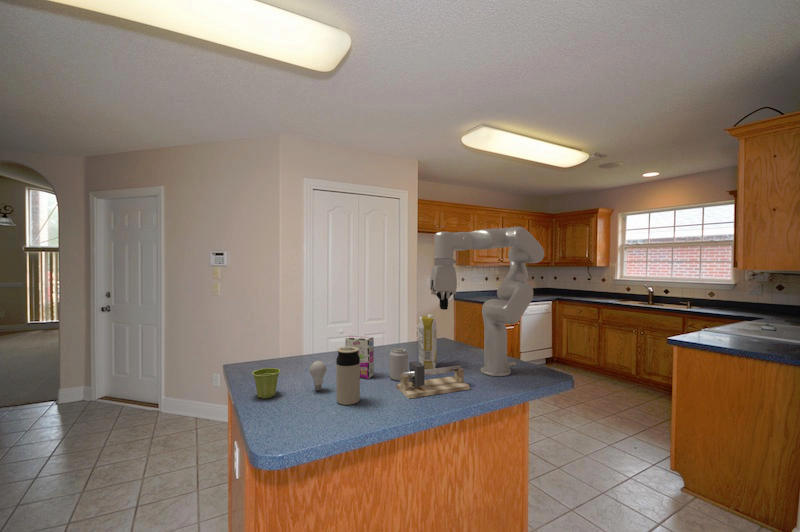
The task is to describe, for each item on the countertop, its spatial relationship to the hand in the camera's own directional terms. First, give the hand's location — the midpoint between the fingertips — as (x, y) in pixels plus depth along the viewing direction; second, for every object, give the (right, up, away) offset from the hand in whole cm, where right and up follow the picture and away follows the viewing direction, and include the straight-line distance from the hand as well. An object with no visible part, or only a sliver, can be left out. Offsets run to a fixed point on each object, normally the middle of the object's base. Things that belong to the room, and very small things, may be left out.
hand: (443, 309), depth 144 cm
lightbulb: (-48, -30, -9) cm, 57 cm away
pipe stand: (-5, -29, -7) cm, 30 cm away
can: (-18, -29, +5) cm, 35 cm away
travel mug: (-35, -30, -19) cm, 50 cm away
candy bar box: (-34, -29, +8) cm, 46 cm away
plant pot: (-65, -30, -14) cm, 73 cm away
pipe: (-5, -24, -7) cm, 25 cm away
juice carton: (-5, -29, +21) cm, 36 cm away
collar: (-11, -26, -10) cm, 30 cm away
